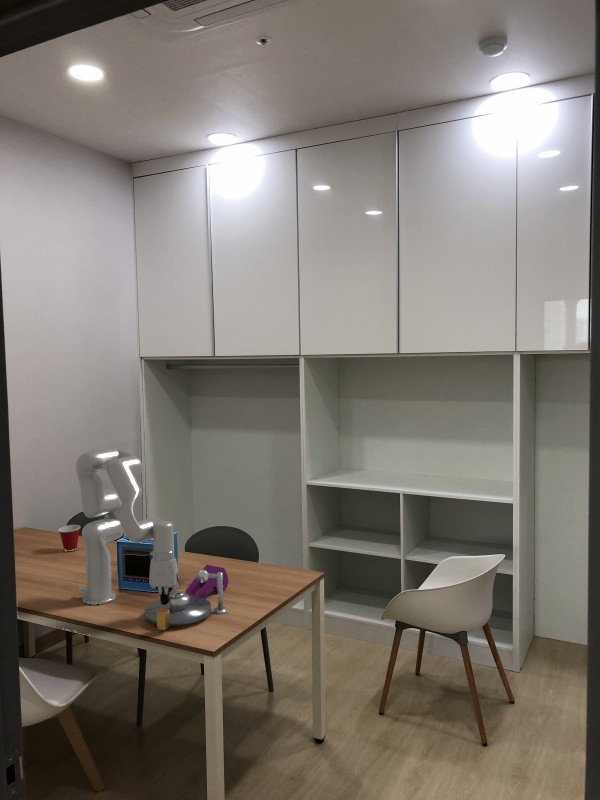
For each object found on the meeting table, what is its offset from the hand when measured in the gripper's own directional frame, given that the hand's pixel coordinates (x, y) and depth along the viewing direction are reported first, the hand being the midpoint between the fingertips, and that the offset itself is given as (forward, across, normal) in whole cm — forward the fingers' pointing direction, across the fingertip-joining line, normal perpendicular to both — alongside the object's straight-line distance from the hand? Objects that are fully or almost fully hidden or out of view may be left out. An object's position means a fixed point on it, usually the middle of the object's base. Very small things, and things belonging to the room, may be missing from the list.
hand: (165, 603), depth 239 cm
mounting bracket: (+5, +7, +24) cm, 25 cm away
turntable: (+3, +5, -2) cm, 6 cm away
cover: (+1, +6, 0) cm, 6 cm away
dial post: (+4, +16, +7) cm, 18 cm away
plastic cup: (+5, -82, +71) cm, 108 cm away
